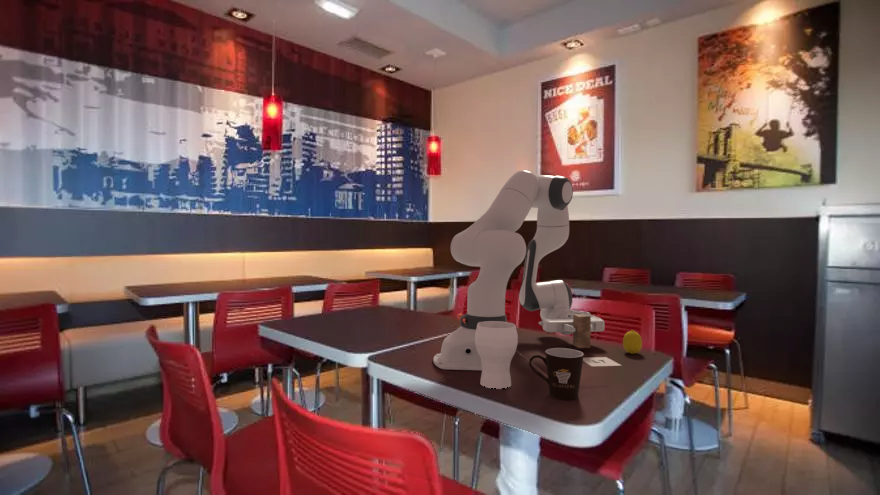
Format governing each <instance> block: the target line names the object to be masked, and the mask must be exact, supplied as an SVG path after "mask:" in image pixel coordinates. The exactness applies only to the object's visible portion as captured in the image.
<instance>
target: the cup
mask: <svg viewBox="0 0 880 495" xmlns="http://www.w3.org/2000/svg"><path fill="white" fill-rule="evenodd" d="M518 338H519V337H518V330H517V327H516V324H515V323H513V322H508V321H507V322H502V321H485V322H480V323H478V324H477V328H476V332H475V345H476V348H477V351H478V354H479V356H480V358H481V362H482V370H481V375H480V383H479V384H480V385H481V386H482V387H484V386H485V388H486V389H491V388H493V389H492V390H503V389H502V388H505V389H508V388H510V387H511V386H512V379H511V372H510V368H511V362H512V360H513V357H514V355H515V353H516V351H517V347H518V342H519V340H518ZM507 387H508V388H507ZM494 388H496V389H494Z"/></svg>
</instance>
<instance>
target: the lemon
mask: <svg viewBox="0 0 880 495" xmlns="http://www.w3.org/2000/svg"><path fill="white" fill-rule="evenodd" d="M622 346H623V348H624V350H625V352H627V353H629V354H631V355H635V354H638V353H639V352H640V351H641V350H642V346H643V340H642V337H641V335H640V334H639V333H638V332H637V331H635V330H633V329H631V330H630V331H627V332H626V333H625V334H624V336H623V339H622Z"/></svg>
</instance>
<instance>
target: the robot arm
mask: <svg viewBox="0 0 880 495" xmlns="http://www.w3.org/2000/svg"><path fill="white" fill-rule="evenodd" d="M573 195H574V186H573V184H572V182H571V181H570V179H569V178H568V177H567V176H566V177H565V176H563V175H562V176H561V175H555V176H554V175H548V174H547V175H546V174H545V175H543V174H534V173H533V172H531V171H530V170H529V171H528V170H519V171H515V173H514V174H512V175H511V176H510V178H508V180H506V182H505V184H503V186H502V188H501V189H500V190H499V192H498V194H497V195H496V197H495V199H494V200H493V201H492V203H491V205H490V206H489V208H488V209H487V210H486V211H485V212H484V213H483V214H482V215H481V216H480V217H479V218H478V219H477V220H475V221H474V223H473V224H471V225H470V226H469V227H467V228H466V229H464V230H462V231H461V232H459V233H457V234H455V235H454V237H453V238H452V240H451V243H450V253H451V256H452V258H453V260H455V261H456V262H458V263H460V264H462V265H465V266H467V267H468V266H469V267H479V268H480V269H479V273H478V276H477V278H476V280H474V281H472V283H471V284H469V285H468V288H467V294H466V296H467V300H466V301H467V304H466V306H467V307H466V308H467V309H466V310H467V312H466V313H465V314H462V313H458V314H457V316H456V319H457V320H458V321H459V322H460V323H459V324H460V326H459V327H458V328H456V329H455V330H454V331H453V332H451V333H450V334H449V335H447V336H446V337H445V338H444V339H443V341H442V344H441V347H440V348H441V349H440V353H436V354H435V355H434V356H433V364H434V365H435V367H437V368H439V369H441V370H453V371H454V370H456V371H460V370H461V371H482V362H481V358H480V356H479V354H478V351H477V348H476V345H475V332H476V328H477V324H478V323H480V322H485V321H502V322H508V321H507V314H506V313H505V312H506V293H507V286H508V282H509V281H510V280H509V279H510V278H511V275H512V274H513V272H514V270H516V268H517V267H519V265H521V264H522V262H523V261H524V265H523V266H524V267H523V271H522V272H523V274H522V280H521V284H520V289H519V294H518V298H519V303H520V306H521V307H523V308H524V310H525V309H526V310H527V311H529V312H535V311H539V310H540V314H539V316H540V318H541V321H538V325H540V326H542V329H543V331H545V333H559V334H561V335H563V336H564V335H565V336H568V335H569V336H570V335H573V332H577V327H576V326H573V314H586V315H589V316H591V333H594V332H604V331H605V327H606V326H605V320H604V319H603V318H601V317H599V316H595V315H593V314H591V312H588V311H580V310H573V309H571V308H572V306H573V293H572V290H571V287H570V286H569V284H568V283H567V282H565V281H564V280H562V279H557V280H548V281H542V282H541V281H540V282H537V277H538V276H537V275H538V269H539V263H540V261H541V260H542V259H543V258H544V257H545V256H547V255H548V254H550V253H553V252H554V251H556V250H558V249H560V248H561V247H562V246H564V245H565V244H566V242H567V240H568V239H569V236H570V214H569V213H570V212H569V208H568V206H569V204H570V203H571V201H572V199H573ZM532 208H533V209H534V208H535V209H537V216H536V231H535V234H534V237H533V238H532V239H531V240H530V241H529V242H528V244H527V245H526V241H525V239H524V238H523V236H522V235H521V234H520V233H518V232H517V231H518V230H519V229H520V228H521V226H522V225H523V223H524V221H525V220H526V218H527V216H528V215H529V212H530V210H531V209H532Z"/></svg>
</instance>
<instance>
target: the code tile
mask: <svg viewBox="0 0 880 495" xmlns="http://www.w3.org/2000/svg"><path fill="white" fill-rule="evenodd" d="M583 363H586V364H587V365H589V366H590V367H613V366H615V367H616V366H622V364H620V363H618V362H616V361H615V360H612V359H611V358H608V357H607V356H598V357H597V356H596V357H595V356H594V357H592V356H591V357H583Z"/></svg>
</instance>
